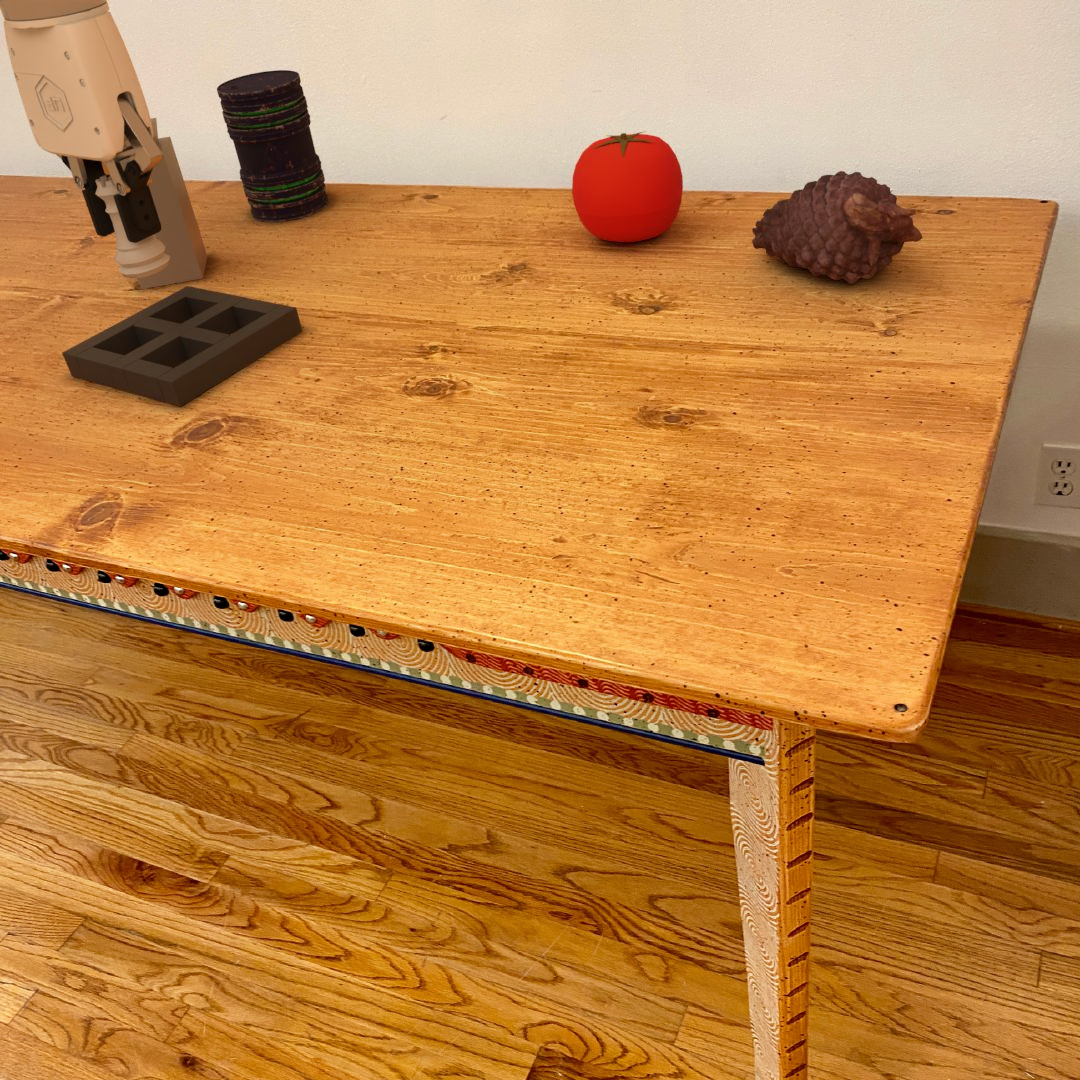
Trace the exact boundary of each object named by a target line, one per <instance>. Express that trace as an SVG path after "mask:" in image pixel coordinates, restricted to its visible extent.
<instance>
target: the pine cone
mask: <svg viewBox="0 0 1080 1080" xmlns="http://www.w3.org/2000/svg"><path fill="white" fill-rule="evenodd" d="M897 200H898V197H897V196H896V194H894V193H892V192H891V187H889V186H888V185H887V184H886V183H883V184H880V183H878V179H876V178H874V177H873V176H870V177H867V176H863V175H862V173H861V172H860V171H854V172H852V173H846V172H845V171H844V170H840V171H838V172H836V173H835V174H824V175H821V176H820V177H819V178H818V179H817V180H814V181H813V180H812V181H808V182H807V183H806V184H804V186H803V188H802V189H796V190H793V192H792V193H791V195H790V197H789V198H786V199H781V200H778V201H777V202H776V203H775V204H773V206H772V207H771V208H767V209H766V210H764V212H763V214H762V216H763V217H762V218H761V219H760V220H757V221H756V222H755V227H752V228H751V229H752V233H753V235H754V238H752V240H751V244H752V246H753V249H755V250H759V249H761V250H762V249H763V250H765V254H766V256H769V257H771V258H774V257H775V258H776V259H778V261H779V262H780V263H782V264H788V265H789V266H790V267H792V268H798V267H799V268H803V269H808V270H809V272H811V274H812V275H813V276H814V277H817V278H818V277H821V276H823V275H827V276H828V278H830V279H832V280H833V281H839V280H844V281H845V282H846V283H848V285H854V284H855V283H856V282H857V281H858V280H859V279H861V278H862V279H864V280H867V279H868V280H869V279H871V278H873V277H874V276H875V274H876V272H877V271H878V270H880V269H884V268H887V267H889V266H890V265H891V264H892V262H893V261H894V260H893V257H894V256H896V255H898V254H901V252H902V249H903V248H904V244H905V243H910V242H914V243H916V242H919V241H921V240H922V239H923V237H924V236H923V234H922V233H921V231H920V230H919V229H918V228H917V227H916V226H915V225H914V220H913V218H912V216H915V215H916V213H917V211H916V209H915V208H913V209H909V208H903V207H901V205H898V204H897Z"/></svg>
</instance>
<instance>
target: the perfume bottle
mask: <svg viewBox="0 0 1080 1080" xmlns="http://www.w3.org/2000/svg"><path fill="white" fill-rule="evenodd" d="M150 119H151V123H152V127H153V140H154V141H155V143H156V144H157V146H158V148H159V149H160V151H161V153H162V160H161V161H160V162H159V163H158V164H157V165H156V166H155V167H153V170H152V172H151V175H150V176H151V179H152V184H151V185H149V188H150V191H151V195H152V198H153V201H154V204H155V207H156V211H157V214H158V217H159V220H160V223H161V227H162V228H161V231H160V232H158V233H156V234H154V235H155V236H156V239H157V240H159V241H161V242H162V243H163V244H164V246H165V247H166V248H165V251H164V253H165V254H168V255H169V256H170V259H169V262H168V266H167V267H166V268H164V269H163V270H161V271H159V272H157V273H155V274H152V275H149V276H145V277H141V278H136V280H137V282H138V285H139V287H140V290H147V289H151V288H152V289H153V288H157V287H163V286H168V285H173V284H174V285H175V284H180V283H185V282H190V281H195V280H201V279H204V275H205V270H206V266H207V260H208V253H207V251H206V246H205V243H204V240H203V237H202V234H201V230H200V228H199V224H198V221H197V218H196V215H195V211H194V208H193V205H192V201H191V199H190V196H189V193H188V189H187V187H186V182H185V180H184V177H183V174H182V170H181V167H180V165H179V161H178V157H177V154H176V151H175V147H174V144H173V142H172V138H171V136H164V137H159V133H158V122H157V117H153V118H151V117H150ZM123 148H126V146H125V144H124V146H123ZM128 162H130V160H129V158H126V159H124V160H121V161H120V163H121V166H122V168H123V171H124V170H125V167H126V164H127V163H128ZM109 179H111V176H110V177H109V178H108V180H109Z"/></svg>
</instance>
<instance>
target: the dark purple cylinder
mask: <svg viewBox="0 0 1080 1080" xmlns="http://www.w3.org/2000/svg"><path fill="white" fill-rule="evenodd" d="M301 82H302V81H301V77H300V73H299V72H297V71H295V70H287V69H278V70H276V69H275V70H268V71H260V72H254V73H249V74H245V75H241V76H238V77H235V78H232V79H229V80H227V81H224V82H222V83H220V84H219V85H218V86H217V87H216V92H217V95H218V98H219V99H220V106H221V109H222V118H223V120H224V123H225V124H226V129H227V131H226V132H227V134H228V137H229V138H230V140H232V141H233V145H234V149H235V152H236V157H237V160H238V163H239V167H240V169H239V179H240V180H241V183H242V188H243V192H244V195H245V197H246V198H247V202H248V205H249V206H250V213H251V216H252V219H254V220H256V221H259V222H264V223H281V222H288V221H295V220H299V219H302V218H305V217H309V216H311V215H314V214H316V213H318V212H320V211H322V210H324V209H325V208H326V207H327V206H328V205H329V202H330V199H329V196H328V193H327V192H326V189H327V188H326V184H325V181H326V178H325V174H324V170H323V168H322V161H321V158H320V156H319V154H317V153H316V150H315V149H316V148H315V144H314V140H313V136H312V132H311V127H310V125H311V123H312V122H311V115H310V113H309V109H308V107H309V106H308V102H307V97H306V96H305V95H304V93H305V92H304V88H303V86H302V85H301Z"/></svg>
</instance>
